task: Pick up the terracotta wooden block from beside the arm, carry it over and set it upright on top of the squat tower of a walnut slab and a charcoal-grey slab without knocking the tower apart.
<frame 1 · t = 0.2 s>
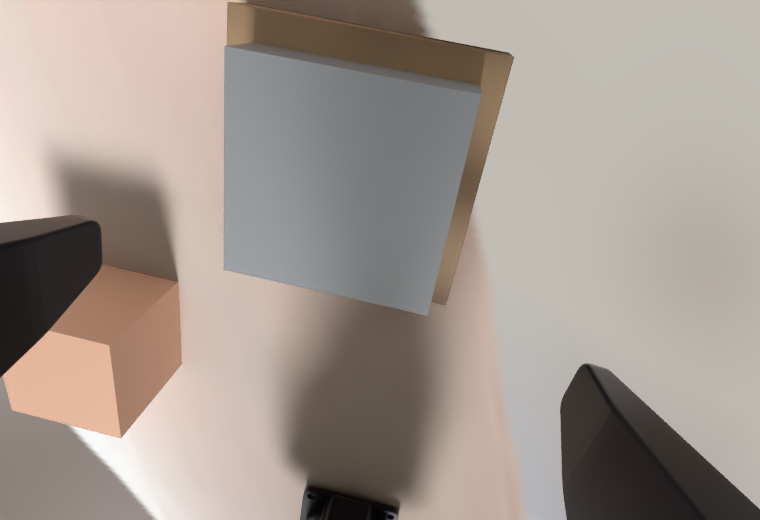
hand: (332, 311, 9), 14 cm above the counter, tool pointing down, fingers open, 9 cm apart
grey slab: (350, 174, 21), point 2 cm above the counter, touching walnut slab
terracotta block: (132, 313, 29), on the counter
walnut slab: (359, 155, 23), on the counter, touching grey slab
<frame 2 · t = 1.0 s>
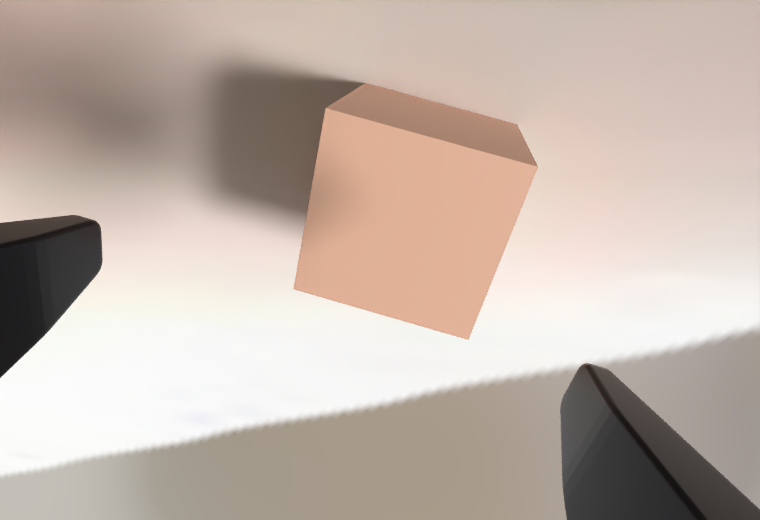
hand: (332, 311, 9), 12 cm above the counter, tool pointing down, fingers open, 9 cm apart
terracotta block: (419, 176, 20), on the counter
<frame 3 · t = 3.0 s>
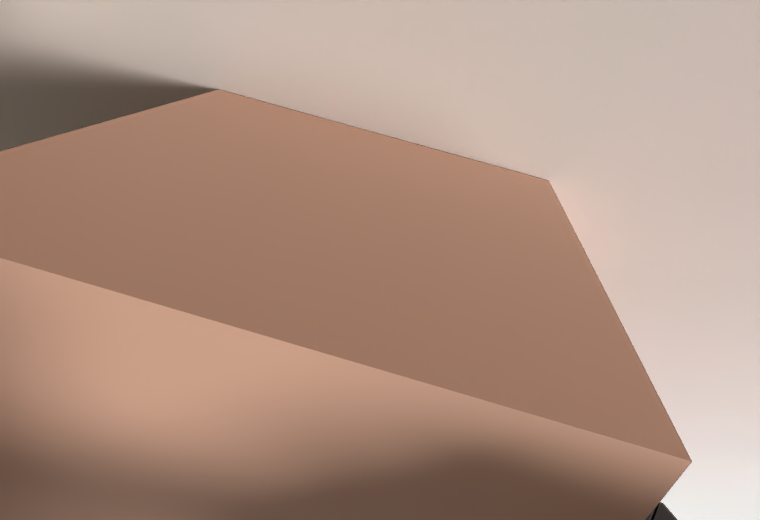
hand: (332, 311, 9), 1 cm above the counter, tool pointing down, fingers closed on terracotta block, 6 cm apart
terracotta block: (347, 278, 10), on the counter, touching gripper
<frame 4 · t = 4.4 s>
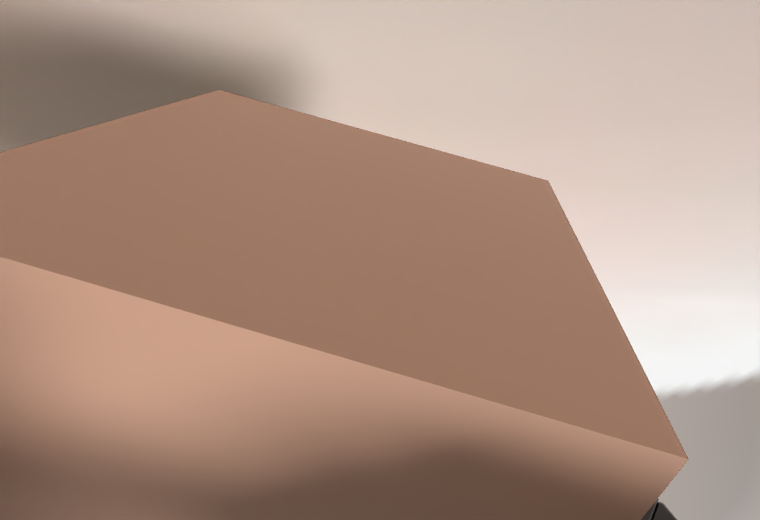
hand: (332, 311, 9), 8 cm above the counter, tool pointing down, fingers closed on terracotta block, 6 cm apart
terracotta block: (347, 278, 10), point 7 cm above the counter, touching gripper
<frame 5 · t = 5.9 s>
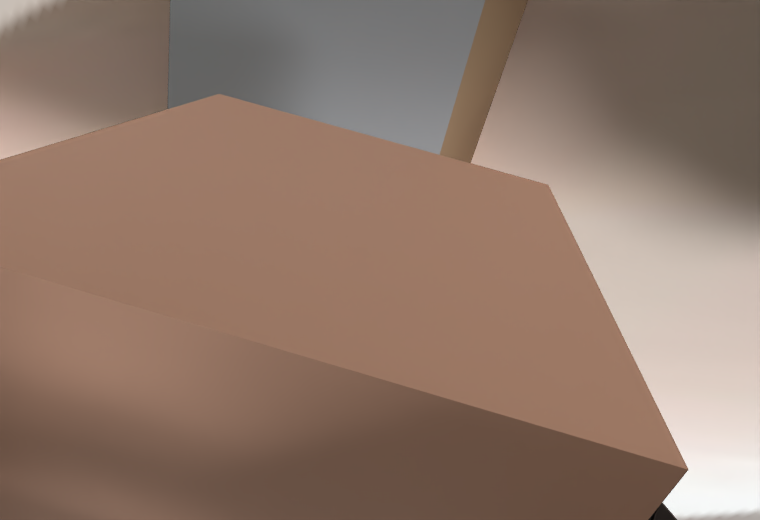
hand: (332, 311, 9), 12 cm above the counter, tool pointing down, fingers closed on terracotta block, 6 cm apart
grey slab: (336, 26, 16), point 2 cm above the counter, touching walnut slab
terracotta block: (347, 281, 10), point 11 cm above the counter, touching gripper
walnut slab: (357, 35, 19), on the counter, touching grey slab
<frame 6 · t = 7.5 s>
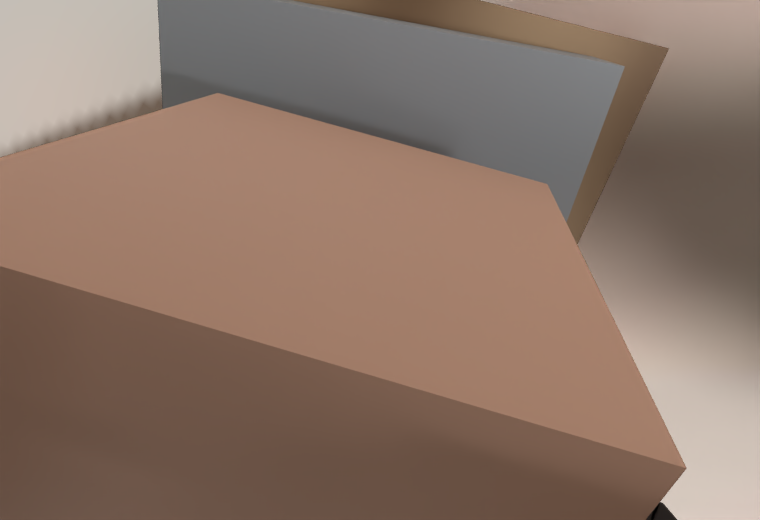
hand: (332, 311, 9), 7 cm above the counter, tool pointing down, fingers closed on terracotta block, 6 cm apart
grey slab: (369, 199, 13), point 2 cm above the counter
terracotta block: (346, 281, 10), point 6 cm above the counter, touching gripper
walnut slab: (388, 181, 16), on the counter
when the fingers open (7 cm above the counter, at t = 8.4 s): terracotta block drops 1 cm, resting on grey slab.
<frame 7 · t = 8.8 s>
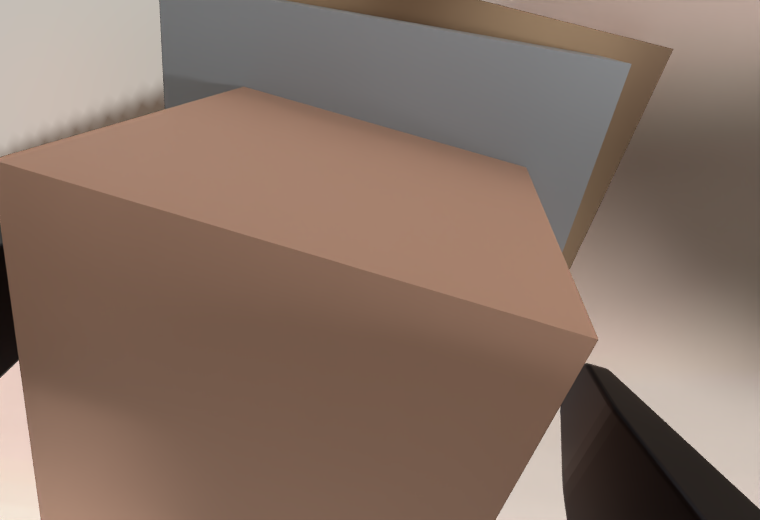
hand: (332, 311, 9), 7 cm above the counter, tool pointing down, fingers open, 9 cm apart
grey slab: (373, 201, 13), point 2 cm above the counter, touching terracotta block, walnut slab
terracotta block: (352, 253, 11), point 4 cm above the counter, touching grey slab
walnut slab: (389, 183, 16), on the counter, touching grey slab
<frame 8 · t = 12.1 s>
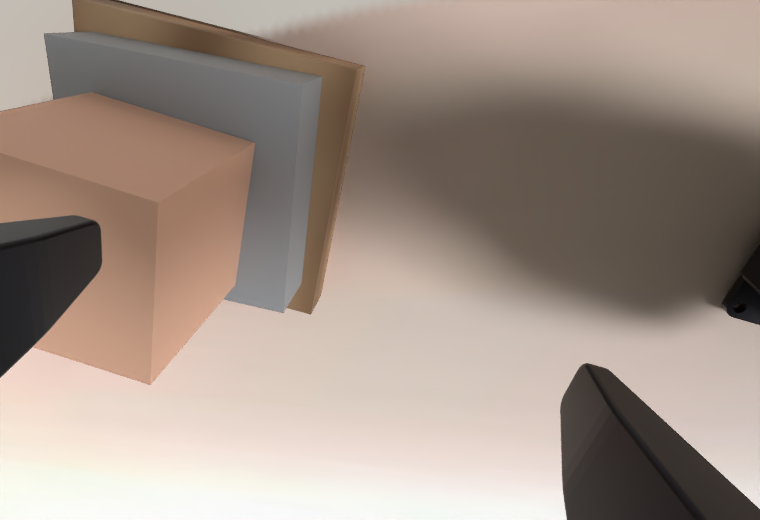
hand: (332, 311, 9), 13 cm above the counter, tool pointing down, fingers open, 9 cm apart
grey slab: (207, 168, 20), point 2 cm above the counter, touching terracotta block, walnut slab
terracotta block: (168, 195, 18), point 4 cm above the counter, touching grey slab
walnut slab: (230, 158, 23), on the counter, touching grey slab
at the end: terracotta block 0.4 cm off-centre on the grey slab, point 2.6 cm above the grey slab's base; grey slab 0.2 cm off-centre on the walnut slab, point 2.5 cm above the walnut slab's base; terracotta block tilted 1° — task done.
